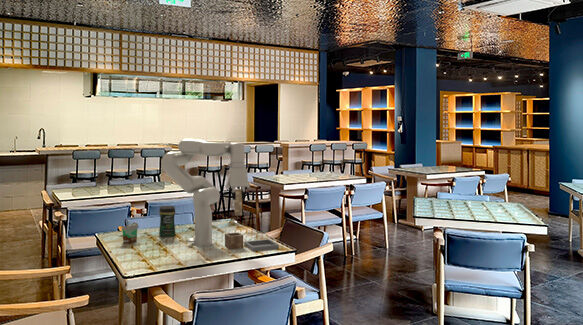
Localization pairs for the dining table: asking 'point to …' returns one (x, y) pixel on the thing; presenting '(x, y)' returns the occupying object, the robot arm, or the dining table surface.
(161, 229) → the coffee jar
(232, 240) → the brown wooden cube
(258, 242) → the charcoal tray
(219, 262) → the dining table surface
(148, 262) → the dining table surface
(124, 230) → the food container
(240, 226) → the dining table surface
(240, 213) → the beech pin
